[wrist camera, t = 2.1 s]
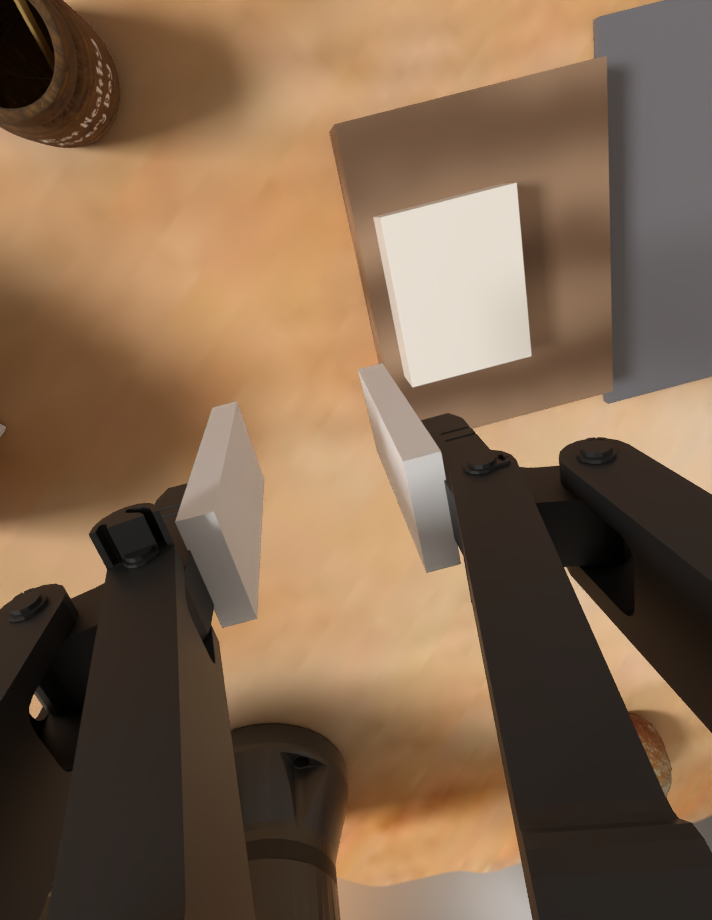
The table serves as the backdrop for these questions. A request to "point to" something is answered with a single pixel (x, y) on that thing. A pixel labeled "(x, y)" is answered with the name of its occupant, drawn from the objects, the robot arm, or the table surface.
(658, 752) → the bread roll
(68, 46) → the utensil holder
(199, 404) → the table surface
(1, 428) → the tea box
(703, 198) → the mat
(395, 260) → the slab
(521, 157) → the board
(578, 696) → the robot arm
